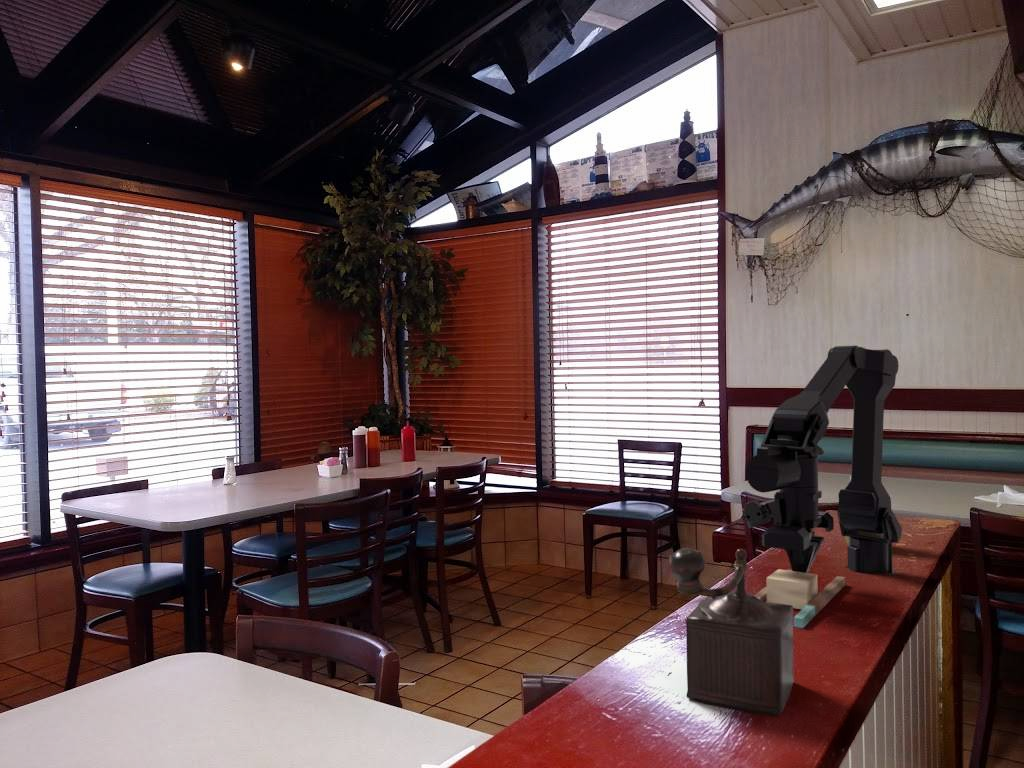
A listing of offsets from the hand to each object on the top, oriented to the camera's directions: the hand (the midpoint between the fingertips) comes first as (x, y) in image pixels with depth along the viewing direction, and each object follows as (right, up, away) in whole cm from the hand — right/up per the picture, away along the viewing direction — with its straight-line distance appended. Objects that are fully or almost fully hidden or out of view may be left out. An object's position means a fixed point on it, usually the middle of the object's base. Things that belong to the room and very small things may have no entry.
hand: (799, 582), depth 123 cm
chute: (-2, -3, -2) cm, 4 cm away
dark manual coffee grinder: (-21, -4, -36) cm, 42 cm away
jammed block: (-2, -2, -4) cm, 5 cm away
